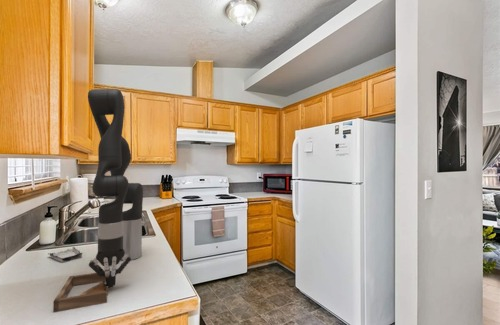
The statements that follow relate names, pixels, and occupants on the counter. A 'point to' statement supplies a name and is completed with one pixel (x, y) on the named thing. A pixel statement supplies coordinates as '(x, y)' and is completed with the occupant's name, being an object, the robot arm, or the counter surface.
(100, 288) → the shard
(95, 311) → the counter surface
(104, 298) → the wooden c-shaped bracket
